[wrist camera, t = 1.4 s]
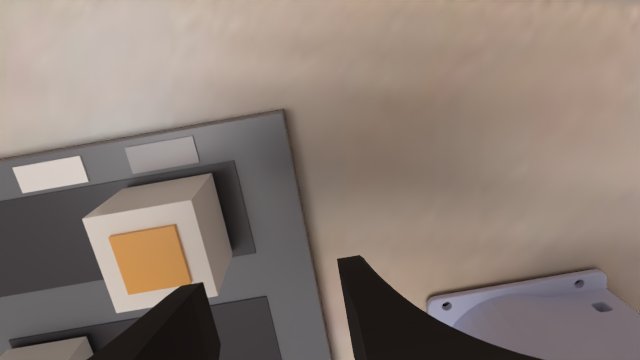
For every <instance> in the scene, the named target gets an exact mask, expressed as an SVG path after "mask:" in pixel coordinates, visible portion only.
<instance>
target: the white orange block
mask: <svg viewBox="0 0 640 360" xmlns="http://www.w3.org/2000/svg"><path fill="white" fill-rule="evenodd" d="M92 355H94V354H93V352H92V349H91V347H90V344H89V342H88V339H87V337H86V336H85V337H79V338H73V339H68V340H62V341H56V342H50V343H44V344H38V345H32V346H26V347H21V348H15V349H9V350H6V351H5V352H4V353H3V354H2V355H1V356H0V360H87V359H88V358H89V357H91V356H92Z"/></svg>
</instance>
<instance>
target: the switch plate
mask: <svg viewBox="0 0 640 360" xmlns="http://www.w3.org/2000/svg"><path fill="white" fill-rule="evenodd" d="M209 173H212V176H213V180H214V184H215V187H216V191H217V195H218V199H219V203H220V207H221V211H222V215H223V219H224V222H225V226H226V230H227V234H228V238H229V242H230V246H231V250H232V253H233V255H232V258H231V260H230V263H229V266H228V269H227V272H226V275H225V277H224V280H223V283H222V286H221V289H220V292H219V294H218V296H215V297H209V298H208V301H209V304H210V308H211V311H212V315H213V318H214V322H215V325H216V329H217V332H218V336H219V339H220V343H221V348H220V356H219V360H332V356H331V351H330V346H329V341H328V336H327V331H326V326H325V320H324V315H323V310H322V305H321V300H320V295H319V290H318V285H317V280H316V274H315V269H314V264H313V259H312V254H311V249H310V244H309V239H308V233H307V228H306V223H305V218H304V213H303V208H302V203H301V198H300V192H299V187H298V182H297V177H296V172H295V167H294V162H293V157H292V151H291V146H290V141H289V136H288V131H287V126H286V121H285V116H284V110H283V109H282V110H276V111H271V112H265V113H259V114H254V115H248V116H242V117H237V118H231V119H225V120H220V121H214V122H208V123H203V124H197V125H191V126H186V127H180V128H174V129H169V130H163V131H157V132H152V133H146V134H140V135H135V136H129V137H123V138H118V139H112V140H106V141H101V142H95V143H89V144H84V145H78V146H72V147H67V148H61V149H55V150H50V151H44V152H38V153H33V154H27V155H21V156H16V157H10V158H4V159H0V356H1V355H2V354H3V353H4V352H5V351H6V350H9V349H15V348H21V347H26V346H32V345H38V344H44V343H50V342H56V341H62V340H68V339H73V338H79V337H85V336H86V337H87V339H88V342H89V344H90V347H91V349H92V352H93V354H95V353H96V352H98V351H99V350H100V349H101V348H103V347H104V346H105V345H107V344H108V343H109V342H111V341H112V340H113V339H114V338H116V337H117V336H118V335H120V334H121V333H122V332H124V331H125V330H126V329H127V328H129V327H130V326H131V325H132V324H133V323H135V322H136V321H137V320H138V319H140V318H141V317H142V316H143V315H144V314H146V313H147V312H148V311H149V310H150V309H152V308H153V307H151V308H145V309H139V310H133V311H127V312H121V313H116V311H115V308H114V305H113V302H112V300H111V297H110V294H109V291H108V289H107V286H106V283H105V281H104V278H103V275H102V272H101V270H100V267H99V264H98V261H97V259H96V256H95V253H94V251H93V248H92V245H91V242H90V240H89V237H88V234H87V231H86V229H85V226H84V223H83V221H82V218H84V217H85V216H86V215H88V214H89V213H90V212H92V211H93V210H95V209H96V208H97V207H99V206H100V205H101V204H103V203H104V202H105V201H107V200H108V199H109V198H111V197H112V196H113V195H115V194H116V193H117V192H119V191H120V190H121V189H123V188H129V187H135V186H141V185H146V184H152V183H158V182H163V181H169V180H175V179H181V178H186V177H192V176H198V175H203V174H209Z"/></svg>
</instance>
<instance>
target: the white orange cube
mask: <svg viewBox="0 0 640 360" xmlns="http://www.w3.org/2000/svg"><path fill="white" fill-rule="evenodd" d="M82 221H83V223H84V226H85V229H86V231H87V234H88V237H89V240H90V242H91V245H92V248H93V251H94V253H95V256H96V259H97V261H98V264H99V267H100V270H101V272H102V275H103V278H104V281H105V283H106V286H107V289H108V291H109V294H110V297H111V300H112V302H113V305H114V308H115V311H116V313H121V312H127V311H133V310H139V309H145V308H151V307H154V306H155V305H156V304H158V303H159V302H160V301H161V300H163V299H164V298H165V297H166V296H168V295H169V294H170V293H171V292H173V291H174V290H175V289H177V288H179V287H180V286H182V285H188V284H194V283H200V282H203V283H204V287H205V290H206V294H207V297H208V298H209V297H215V296H218V294H219V292H220V289H221V286H222V283H223V280H224V277H225V275H226V272H227V269H228V266H229V263H230V260H231V258H232V255H233V253H232V250H231V246H230V242H229V238H228V234H227V230H226V226H225V222H224V219H223V215H222V211H221V207H220V203H219V199H218V195H217V191H216V187H215V184H214V180H213V176H212V173H209V174H203V175H198V176H192V177H186V178H181V179H175V180H169V181H163V182H158V183H152V184H146V185H141V186H135V187H129V188H123V189H121V190H120V191H119V192H117V193H116V194H115V195H113V196H112V197H111V198H109V199H108V200H107V201H105V202H104V203H103V204H101V205H100V206H99V207H97V208H96V209H95V210H93V211H92V212H90V213H89V214H88V215H86V216H85V217H84V218H82Z"/></svg>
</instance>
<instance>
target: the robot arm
mask: <svg viewBox="0 0 640 360" xmlns="http://www.w3.org/2000/svg"><path fill="white" fill-rule="evenodd" d="M337 261H338V268H339V274H340V279H341V285H342V291H343V296H344V302H345V308H346V313H347V319H348V325H349V330H350V336H351V342H352V348H353V353H354V358H355V360H640V314H639V313H637V312H636V311H635V310H634V309H632V308H631V307H630V306H628V305H627V304H626V303H625V302H623V301H622V300H621V299H619V298H618V297H617V296H616V295H614V294H613V293H612V292H610V291H609V290H608V289H607V275H606V274H605V273H604V272H602V271H601V270H599V269H592V270H586V271H580V272H574V273H568V274H562V275H556V276H550V277H545V278H539V279H533V280H527V281H521V282H515V283H509V284H503V285H497V286H492V287H486V288H480V289H474V290H468V291H462V292H456V293H450V294H444V295H438V296H434V297H431V298H430V299H429V300H428V301H427V304H426V307H427V313H426V312H424V311H422V310H421V309H419V308H418V307H416V306H415V305H414V304H412V303H411V302H410V301H408V300H407V299H406V298H404V297H403V296H402V295H400V294H399V293H398V292H397V291H396V290H394V289H393V288H392V287H391V286H390V285H389V284H388V283H387V282H385V281H384V280H383V279H382V278H381V277H380V276H379V275H378V274H377V273H376V272H375V271H374V270H373V269H372V268H371V267H370V265H369V264H368V263H367V262H366V261H365V259H364V258H363V257H361V256H360V255H357V256H352V257H346V258H340V259H337ZM577 280H579V282H578V283H577V284H575V282H576V281H577ZM446 302H449V304H448V305H447V306H442V305H443V304H444V303H446ZM220 348H221V343H220V339H219V336H218V332H217V329H216V325H215V322H214V318H213V315H212V311H211V308H210V304H209V301H208V297H207V294H206V290H205V287H204V283H203V282H200V283H194V284H188V285H182V286H180V287H179V288H177V289H175V290H174V291H173V292H171V293H170V294H169V295H168V296H166V297H165V298H164V299H163V300H161V301H160V302H159V303H158V304H156V305H155V306H154V307H153V308H152V309H150V310H149V311H148V312H147V313H146V314H144V315H143V316H142V317H141V318H140V319H138V320H137V321H136V322H135V323H133V324H132V325H131V326H130V327H129V328H127V329H126V330H125V331H124V332H122V333H121V334H120V335H118V336H117V337H116V338H114V339H113V340H112V341H111V342H109V343H108V344H107V345H105V346H104V347H103V348H101V349H100V350H99V351H98V352H96V353H95V354H94V355H92V356H91V357H89V358H88V359H87V360H219V356H220Z"/></svg>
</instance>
